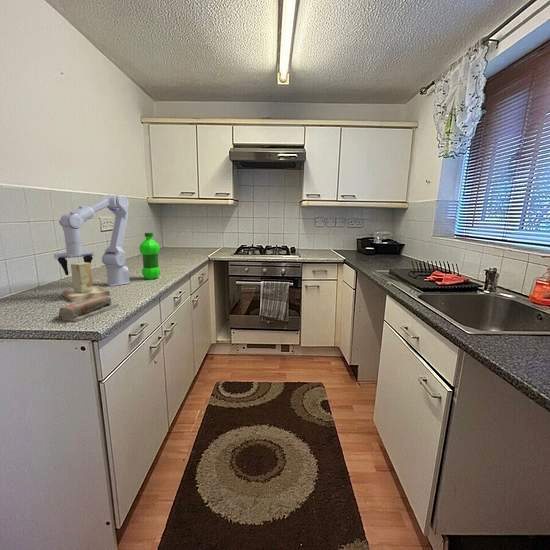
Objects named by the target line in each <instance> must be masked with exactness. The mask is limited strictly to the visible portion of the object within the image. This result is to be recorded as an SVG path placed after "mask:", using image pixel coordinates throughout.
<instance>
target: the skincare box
mask: <svg viewBox="0 0 550 550" xmlns="http://www.w3.org/2000/svg"><path fill="white" fill-rule="evenodd" d="M91 264H92V263H91ZM91 264H90V263H87V262H84V261H83V262H82V261H81V262H76V263H75V262H74V263H71V264H70V271H71V279H72V287H73V288H72V289H74V292H78V293H83V292H87V291H90V290H93V286H94V283H93V276H92V275H93V274H92V266H91Z"/></svg>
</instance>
